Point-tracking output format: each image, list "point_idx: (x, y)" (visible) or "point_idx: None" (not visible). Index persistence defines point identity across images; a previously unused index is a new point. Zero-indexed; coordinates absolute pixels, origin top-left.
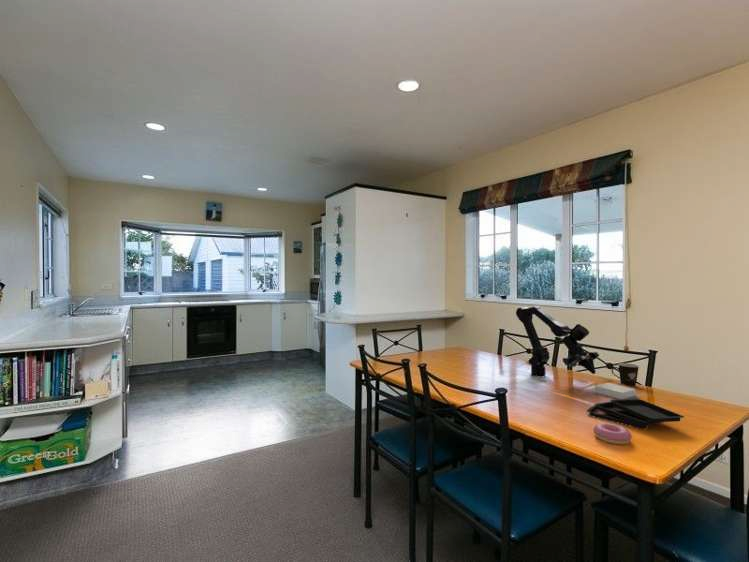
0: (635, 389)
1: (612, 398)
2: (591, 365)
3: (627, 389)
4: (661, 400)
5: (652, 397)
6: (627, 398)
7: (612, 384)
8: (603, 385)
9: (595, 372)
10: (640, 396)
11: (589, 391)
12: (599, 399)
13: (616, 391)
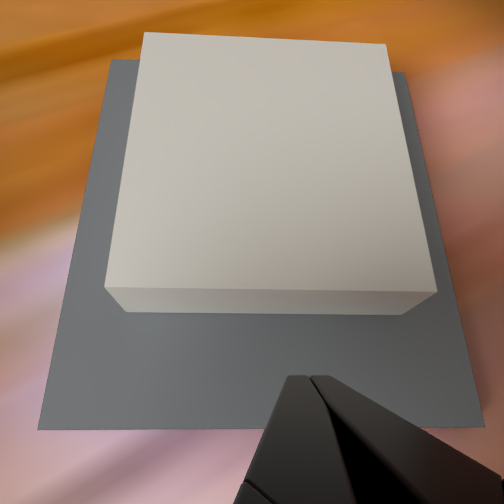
0: (149, 33)
1: (411, 139)
2: (453, 489)
3: (227, 61)
4: (51, 9)
5: (15, 56)
6: None
7: (161, 214)
8: (317, 244)
9: (291, 376)
10: (135, 66)
11: (438, 360)
12: (480, 216)
13: (392, 83)
